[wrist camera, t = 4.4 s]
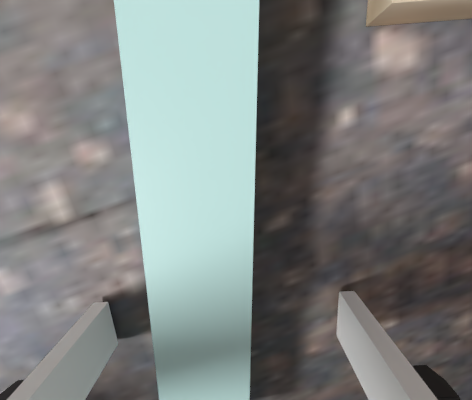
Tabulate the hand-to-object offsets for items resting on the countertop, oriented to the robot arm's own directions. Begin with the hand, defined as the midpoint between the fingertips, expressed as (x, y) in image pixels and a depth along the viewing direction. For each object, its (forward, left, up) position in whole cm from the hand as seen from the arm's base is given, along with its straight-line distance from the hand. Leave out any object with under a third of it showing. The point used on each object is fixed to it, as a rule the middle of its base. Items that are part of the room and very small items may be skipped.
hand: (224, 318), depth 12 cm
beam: (+7, 0, -1) cm, 7 cm away
